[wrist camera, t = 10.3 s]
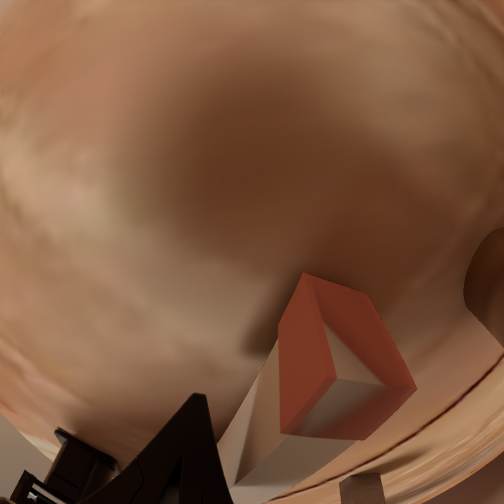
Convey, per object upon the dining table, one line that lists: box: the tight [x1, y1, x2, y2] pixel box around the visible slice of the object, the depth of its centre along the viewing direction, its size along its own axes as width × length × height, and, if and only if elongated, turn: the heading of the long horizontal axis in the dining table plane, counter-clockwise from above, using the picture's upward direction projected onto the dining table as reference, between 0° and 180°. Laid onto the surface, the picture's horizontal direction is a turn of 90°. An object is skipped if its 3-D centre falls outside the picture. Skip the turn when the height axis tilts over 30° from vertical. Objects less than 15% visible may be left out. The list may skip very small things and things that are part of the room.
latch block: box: [339, 473, 386, 504], centre depth 13 cm, size 2×3×4 cm, turn 74°
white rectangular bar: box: [217, 273, 417, 504], centre depth 8 cm, size 12×2×4 cm, turn 161°
